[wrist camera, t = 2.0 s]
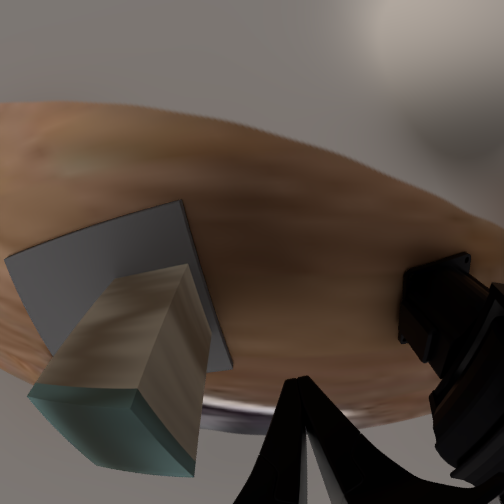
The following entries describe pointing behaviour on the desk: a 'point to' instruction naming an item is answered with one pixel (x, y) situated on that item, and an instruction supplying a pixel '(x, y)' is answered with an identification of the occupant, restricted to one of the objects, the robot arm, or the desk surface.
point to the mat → (107, 271)
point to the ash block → (133, 376)
